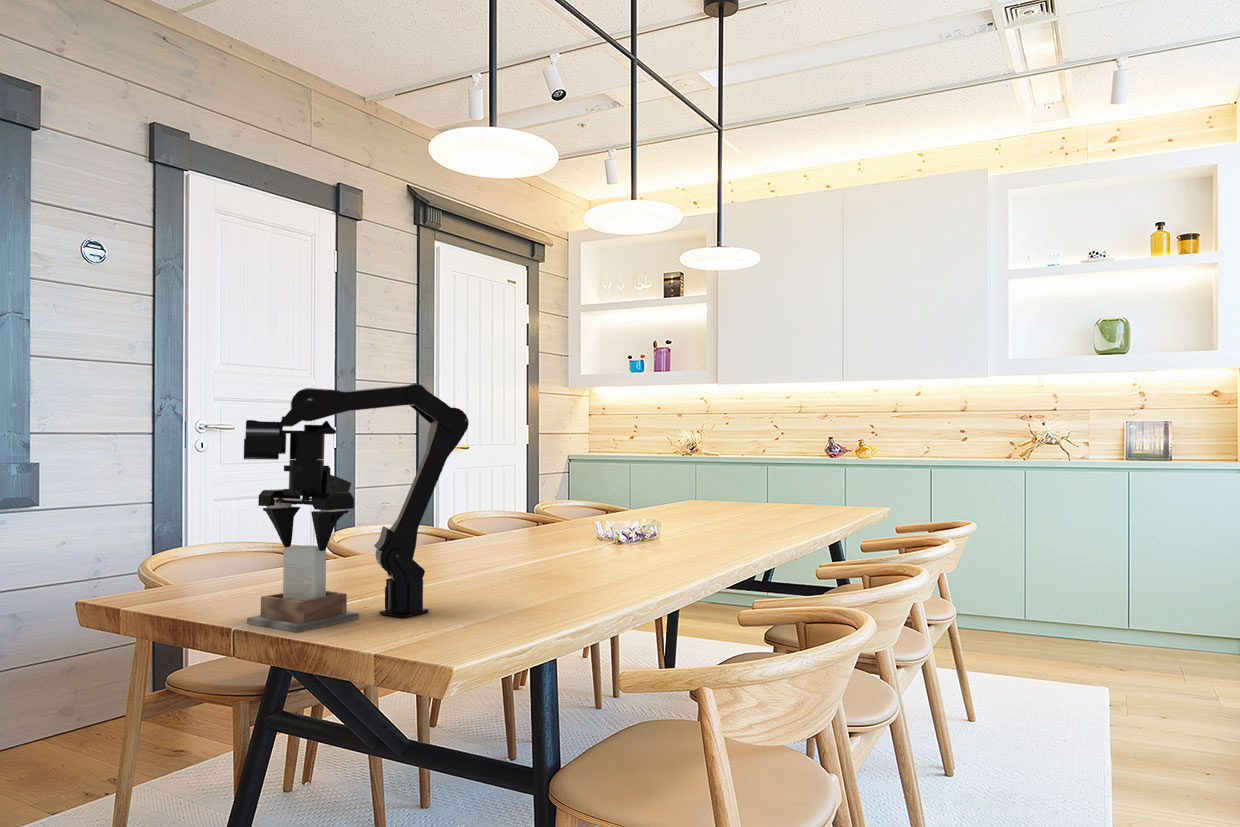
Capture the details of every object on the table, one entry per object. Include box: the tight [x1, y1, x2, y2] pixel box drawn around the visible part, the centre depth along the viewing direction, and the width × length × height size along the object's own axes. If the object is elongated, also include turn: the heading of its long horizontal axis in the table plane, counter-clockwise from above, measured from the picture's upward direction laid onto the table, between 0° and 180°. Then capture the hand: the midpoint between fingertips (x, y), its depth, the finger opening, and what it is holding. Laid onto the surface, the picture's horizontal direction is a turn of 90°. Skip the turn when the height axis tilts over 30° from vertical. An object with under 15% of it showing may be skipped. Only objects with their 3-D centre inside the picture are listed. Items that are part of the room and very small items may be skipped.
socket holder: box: [246, 590, 360, 633], centre depth 145 cm, size 13×13×4 cm
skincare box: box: [282, 544, 327, 601], centre depth 146 cm, size 6×4×12 cm
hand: (304, 548), depth 146 cm, fingers open, 9 cm apart
